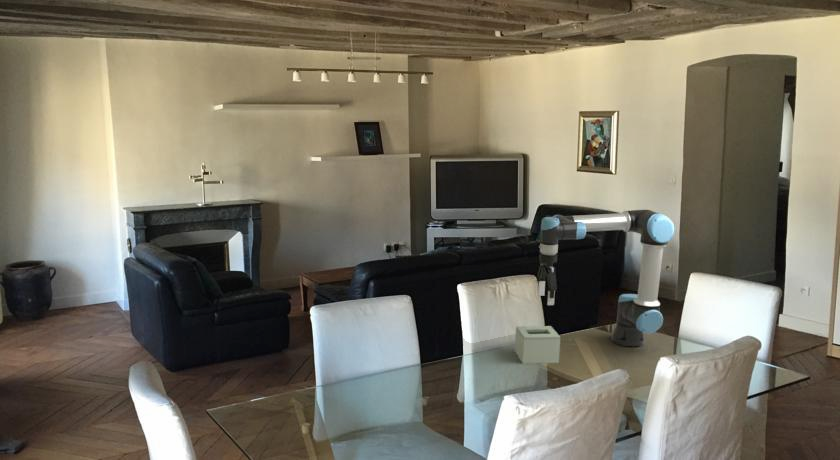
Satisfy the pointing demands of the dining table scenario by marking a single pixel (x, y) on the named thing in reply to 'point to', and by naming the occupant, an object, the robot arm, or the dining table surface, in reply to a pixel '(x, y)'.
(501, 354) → the dining table surface
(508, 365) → the dining table surface
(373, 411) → the dining table surface
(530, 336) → the box
